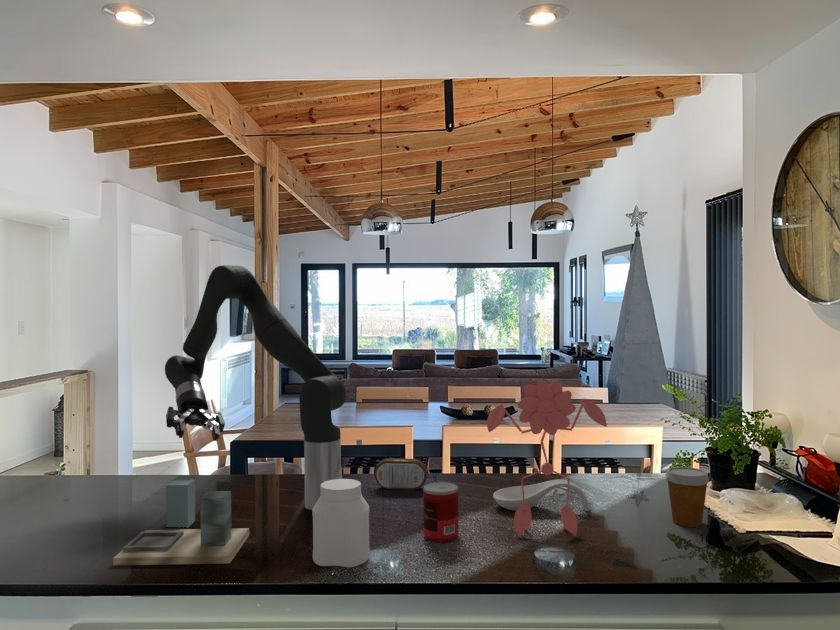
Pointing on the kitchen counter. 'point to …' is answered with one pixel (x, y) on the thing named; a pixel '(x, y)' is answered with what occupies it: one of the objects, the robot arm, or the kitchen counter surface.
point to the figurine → (548, 413)
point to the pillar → (180, 503)
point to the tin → (401, 473)
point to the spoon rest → (533, 494)
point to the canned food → (440, 511)
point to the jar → (341, 525)
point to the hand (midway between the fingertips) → (199, 436)
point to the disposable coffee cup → (687, 494)
